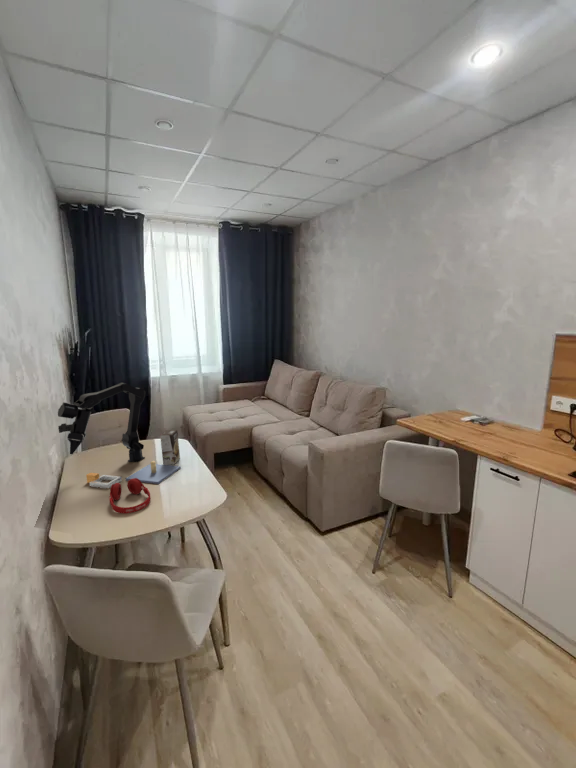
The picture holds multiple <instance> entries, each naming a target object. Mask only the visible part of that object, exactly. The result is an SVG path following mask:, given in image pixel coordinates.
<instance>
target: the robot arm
mask: <svg viewBox="0 0 576 768" xmlns="http://www.w3.org/2000/svg"><path fill="white" fill-rule="evenodd" d="M123 392H124V393H126V394H128V400H129V402H130V403H129V404H130V407H129V414H128V422H127V431H126V432H125V433H122V434H121V435H122V436H121V437H122V439H121V442H122V445H123V446H124V447H125V448H126V449H128V460H127V462H129V463H130V462H131V463H132V462H133V463H138V462H140V461H143V460H144V459H146V456H143V450H144V446H145V445H144V444H143V443H141V442H140V437H139V433H138V427H139V426H138V425H139V420H140V419H139V418H140V410H141V405H142V403H143V402H144V400H145V397H146V391H145V389H143V388H141V387H135V386H132V385H130V384H129V383H125V382H119V383H117V384H115V385H113V386H111V387H108V388H105V389H102V390H99V391H95V392H89V393H83V394H81V395H80V396H79V398H78V399H77V400H76V401H75V402H73V403H68V402H62V404H61V405H60V406H59V408H58V411H57V416H58V417H59V418H64V419H65V418H66V419H71V420H72V419H74V421H73V422H72V423H69V424H67V423H66V422H65V423H61V425H58V429H57V430H58V433H64V432H69V433H67V436H66V437H67V440H68V442H69V443H70V445H69V446H70V447H69V455H73V454H74V453H75V452H76V451H77V449H78V448H79V447H80V445H81V444H82V443H83V442H84V440H85V438H86V436H87V432H86V431H87V428H88V426H89V421H90V417H91V414H92V413H93V414H96V413H97V411H96V410H95V408H94V406H96V405H98V404H100V403H101V402H102V401H103V400H106V399H107V398H111V397H112V396H115V395H117V394H120V393H123Z"/></svg>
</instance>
